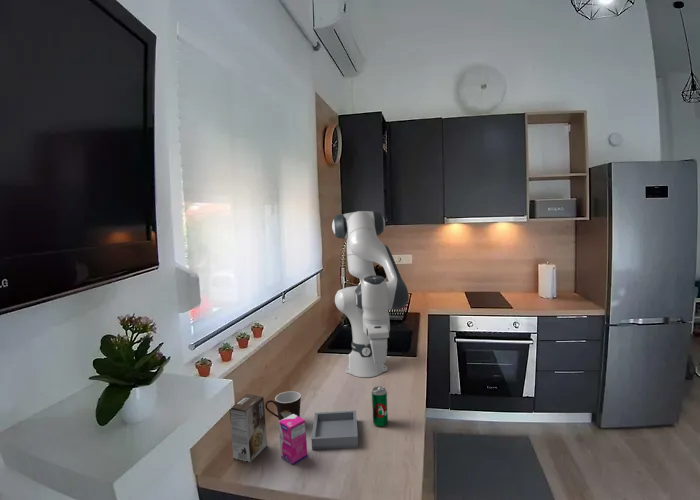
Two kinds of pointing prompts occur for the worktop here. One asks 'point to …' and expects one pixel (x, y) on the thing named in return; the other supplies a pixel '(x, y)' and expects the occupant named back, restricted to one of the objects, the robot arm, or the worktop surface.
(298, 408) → the coffee mug
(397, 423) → the worktop surface
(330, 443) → the tray
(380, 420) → the soda can
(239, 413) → the coffee box
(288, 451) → the supplement box
